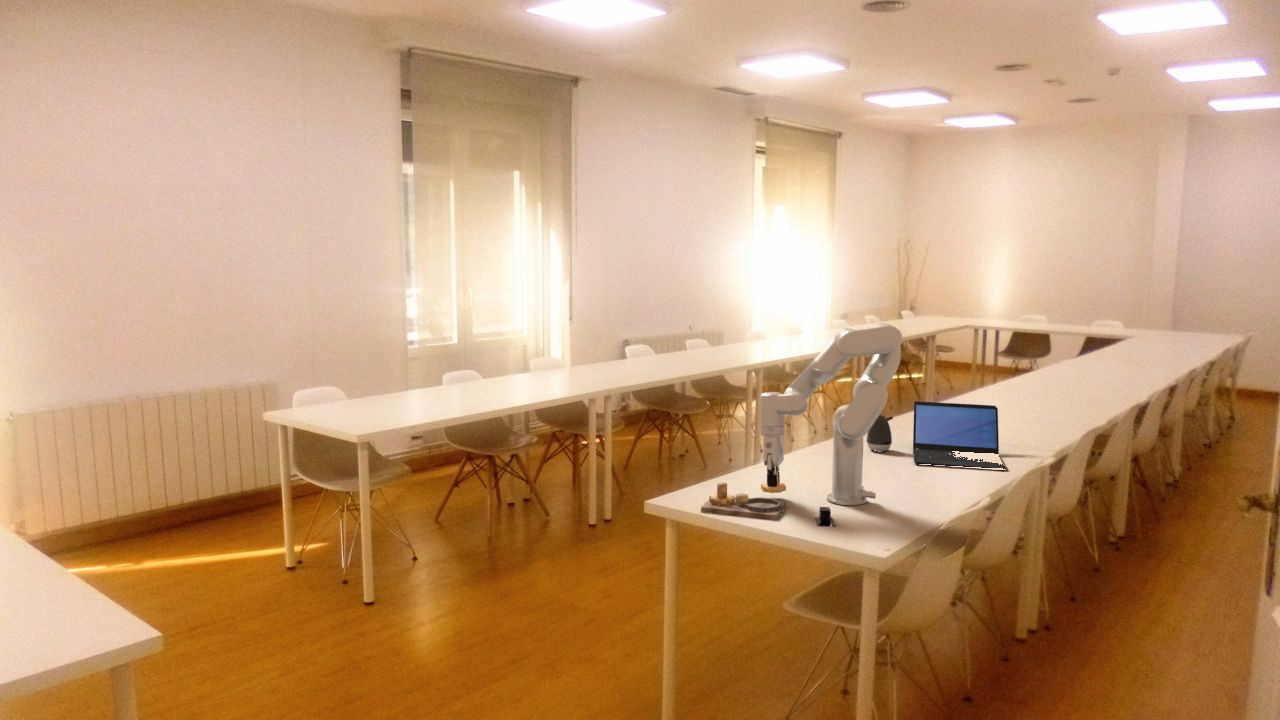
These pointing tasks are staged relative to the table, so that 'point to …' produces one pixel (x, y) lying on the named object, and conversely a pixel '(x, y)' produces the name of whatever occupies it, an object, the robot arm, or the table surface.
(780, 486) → the gear
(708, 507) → the carrier
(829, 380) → the robot arm
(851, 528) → the table surface
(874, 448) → the pump dispenser
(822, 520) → the black slotted bracket
